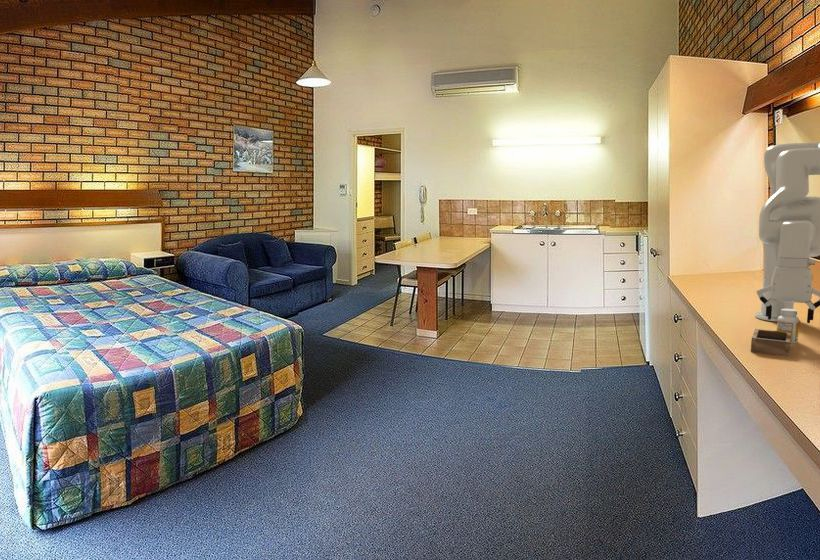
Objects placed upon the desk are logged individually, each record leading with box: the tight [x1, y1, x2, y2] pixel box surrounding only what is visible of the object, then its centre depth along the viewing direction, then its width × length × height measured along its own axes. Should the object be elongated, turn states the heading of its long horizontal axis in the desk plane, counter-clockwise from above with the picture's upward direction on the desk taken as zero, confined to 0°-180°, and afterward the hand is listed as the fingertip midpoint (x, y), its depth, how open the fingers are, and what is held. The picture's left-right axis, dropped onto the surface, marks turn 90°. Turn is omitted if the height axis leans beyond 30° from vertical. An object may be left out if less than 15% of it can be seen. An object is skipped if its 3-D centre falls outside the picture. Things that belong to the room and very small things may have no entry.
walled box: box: [750, 328, 791, 357], centre depth 160 cm, size 12×9×4 cm
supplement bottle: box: [776, 309, 800, 345], centre depth 167 cm, size 5×5×10 cm
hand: (788, 320), depth 166 cm, fingers open, 9 cm apart
